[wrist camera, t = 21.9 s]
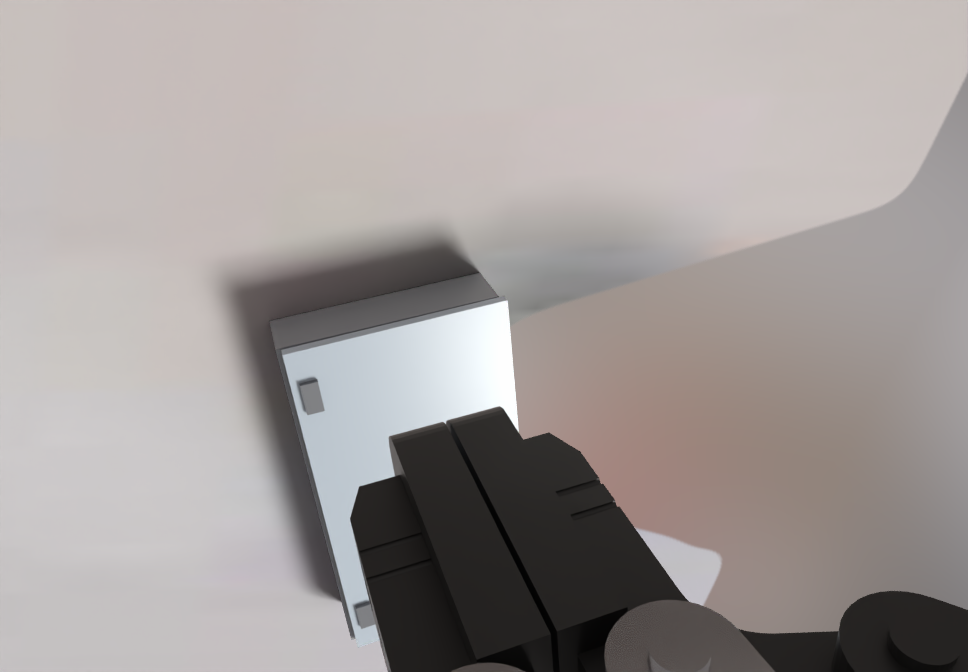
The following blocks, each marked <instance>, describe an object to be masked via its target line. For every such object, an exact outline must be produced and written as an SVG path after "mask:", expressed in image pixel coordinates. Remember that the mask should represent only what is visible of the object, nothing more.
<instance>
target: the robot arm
mask: <svg viewBox="0 0 968 672" xmlns="http://www.w3.org/2000/svg"><path fill="white" fill-rule="evenodd" d="M389 447H390V453H391V458H392V463H393V469H394V474H395V476H394V477H391V478H387V479H384V480H380V481H377V482H373V483H370V484H366V485H363V486H359V489H358V492H357V496H356V499H355V503H354V506H353V510H352V513H351V517H350V522H351V526H352V530H353V534H354V539H355V543H356V547H357V551H358V556H359V560H360V564H361V568H362V572H363V577H364V581H365V585H366V589H367V594H368V598H369V602H370V606H371V610H372V614H373V617H374V621H375V625H376V629H377V633H378V636H379V640H380V644H381V648H382V651H383V655H384V659H385V663H386V666H387V670H388V672H968V610H966V609H963V608H960V607H957V606H955V605H951V604H949V603H946V602H943V601H940V600H937V599H934V598H931V597H927V596H924V595H921V594H915V593H910V592H901V591H900V592H899V591H887V592H879V593H874V594H870V595H867V596H865V597H863V598H860V599H859V600H857V601H856V602H854V603H853V604H851V606H850V607H849V608H848V609H847V610H846V611H845V613H844V615H843V617H842V619H841V622H840V628H839V631H837V632H808V633H780V634H767V633H766V634H765V633H755V632H748V631H744V630H740V629H737V628H736V627H735V626H734V625H733V624H732V623H731V622H730V621H728V620H727V619H726V618H724V617H723V616H722V615H720V614H719V613H717V612H715V611H713V610H711V609H709V608H707V607H704V606H701V605H699V604H695V603H691V602H689V601H688V600H687V599H686V598H685V597H684V596H683V594H682V593H681V592H680V591H679V589H678V588H677V587H676V585H675V584H674V582H673V581H672V580H671V578H670V577H669V575H668V574H667V573H666V571H665V570H664V568H663V567H662V566H661V564H660V563H659V561H658V560H657V559H656V557H655V556H654V554H653V553H652V552H651V550H650V549H649V547H648V546H647V545H646V543H645V542H644V540H643V539H642V538H641V536H640V535H639V533H638V532H637V531H636V529H635V528H634V526H633V525H632V524H631V522H630V521H629V520H628V518H627V517H626V515H625V514H624V512H623V511H622V510H621V508H620V507H617V506H616V503H615V500H614V498H613V497H612V496H611V494H610V493H609V491H608V490H607V489H606V487H605V486H604V484H601V483H600V480H599V477H598V476H597V475H596V473H595V472H594V470H593V469H592V468H591V466H590V465H589V463H588V462H587V461H586V459H585V458H584V456H583V455H582V454H581V452H580V451H578V450H576V449H575V448H573V447H572V446H570V445H568V444H567V443H565V442H563V441H562V440H560V439H559V438H557V437H555V436H554V435H552V434H550V433H546V434H542V435H539V436H535V437H532V438H529V439H525V440H523V439H522V437H521V436H520V434H519V432H518V431H517V429H516V428H515V426H514V424H513V423H512V421H511V420H510V418H509V416H508V415H507V413H506V412H505V410H504V409H503V408H502V407H500V406H498V407H495V408H491V409H487V410H483V411H480V412H476V413H472V414H469V415H465V416H461V417H458V418H454V419H450V420H447V421H446V424H445V423H444V422H440V423H436V424H433V425H429V426H425V427H421V428H418V429H414V430H410V431H407V432H403V433H399V434H396V435H392V436H389Z"/></svg>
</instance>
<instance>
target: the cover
mask: <svg viewBox="0 0 968 672" xmlns="http://www.w3.org/2000/svg"><path fill="white" fill-rule="evenodd" d="M281 352H282V356H283V360H284V364H285V367H286V371H287V375H288V379H289V383H290V387H291V391H292V395H293V398H294V402H295V406H296V410H297V414H298V418H299V422H300V425H301V429H302V433H303V437H304V441H305V445H306V449H307V452H308V456H309V460H310V464H311V468H312V472H313V476H314V480H315V483H316V487H317V491H318V495H319V499H320V503H321V507H322V510H323V514H324V518H325V522H326V526H327V530H328V534H329V537H330V541H331V545H332V549H333V553H334V557H335V561H336V564H337V568H338V572H339V576H340V580H341V584H342V588H343V592H344V595H345V599H346V603H347V607H348V611H349V615H350V619H351V622H352V626H353V630H354V634H355V638H356V642H357V646H358V647H361V646H364V645H367V644H370V643H373V642H376V641H379V636H378V633H377V629H376V625H375V621H374V617H373V614H372V610H371V606H370V602H369V598H368V594H367V589H366V585H365V581H364V577H363V572H362V568H361V564H360V560H359V556H358V551H357V547H356V543H355V539H354V534H353V530H352V526H351V522H350V517H351V513H352V510H353V506H354V503H355V499H356V496H357V492H358V489H359V486H363V485H366V484H370V483H373V482H377V481H380V480H384V479H387V478H391V477H394V476H395V474H394V469H393V463H392V458H391V453H390V447H389V436H392V435H396V434H399V433H403V432H407V431H410V430H414V429H418V428H421V427H425V426H429V425H433V424H436V423H440V422H444V423H445V424H446V421H447V420H450V419H454V418H458V417H461V416H465V415H469V414H472V413H476V412H480V411H483V410H487V409H491V408H495V407H498V406H500V407H502V408H503V409H504V410H505V412H506V413H507V415H508V416H509V418H510V420H511V421H512V423H513V424H514V426H515V428H516V429H517V431H518V432H519V430H518V417H517V407H516V394H515V382H514V371H513V359H512V349H511V335H510V324H509V312H508V300H507V299H506V298H505V297H504V296H501V297H497V298H493V299H489V300H485V301H481V302H477V303H473V304H469V305H464V306H460V307H456V308H452V309H448V310H444V311H440V312H436V313H431V314H427V315H423V316H419V317H415V318H411V319H407V320H403V321H399V322H394V323H390V324H386V325H382V326H378V327H374V328H370V329H366V330H361V331H357V332H353V333H349V334H345V335H341V336H337V337H333V338H329V339H324V340H320V341H316V342H312V343H308V344H304V345H300V346H296V347H291V348H287V349H283V350H281Z"/></svg>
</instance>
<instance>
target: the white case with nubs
mask: <svg viewBox="0 0 968 672" xmlns="http://www.w3.org/2000/svg"><path fill="white" fill-rule="evenodd" d="M497 297H499V296H498V295H497V294H496V292H495V291H494V290H493V289H492V287H491V286H490V285H489V284H488V282H487V281H486V280H485V279H484V277H483V276H482V275H481V273H476V274H472V275H468V276H463V277H459V278H455V279H450V280H446V281H442V282H437V283H433V284H429V285H424V286H420V287H415V288H411V289H407V290H402V291H398V292H394V293H389V294H385V295H381V296H376V297H372V298H368V299H363V300H359V301H354V302H350V303H346V304H341V305H337V306H333V307H328V308H324V309H320V310H315V311H311V312H307V313H302V314H298V315H293V316H289V317H285V318H280V319H276V320H272V321H269V322H270V327H271V332H272V337H273V341H274V346H275V351H276V355H277V358H278V362H279V366H280V370H281V374H282V377H283V381H284V385H285V389H286V393H287V396H288V400H289V404H290V408H291V412H292V415H293V419H294V423H295V427H296V431H297V434H298V438H299V442H300V446H301V450H302V453H303V457H304V461H305V465H306V469H307V472H308V476H309V480H310V484H311V488H312V491H313V495H314V499H315V503H316V507H317V510H318V514H319V518H320V522H321V526H322V529H323V533H324V537H325V541H326V545H327V548H328V552H329V556H330V560H331V564H332V567H333V571H334V575H335V579H336V583H337V586H338V590H339V594H340V598H341V602H342V605H343V609H344V613H345V617H346V621H347V624H348V628H349V632H350V636H351V640H353V639H356V638H355V634H354V630H353V626H352V622H351V619H350V615H349V611H348V607H347V603H346V599H345V595H344V592H343V588H342V584H341V580H340V576H339V572H338V568H337V564H336V561H335V557H334V553H333V549H332V545H331V541H330V537H329V534H328V530H327V526H326V522H325V518H324V514H323V510H322V507H321V503H320V499H319V495H318V491H317V487H316V483H315V480H314V476H313V472H312V468H311V464H310V460H309V456H308V452H307V449H306V445H305V441H304V437H303V433H302V429H301V425H300V422H299V418H298V414H297V410H296V406H295V402H294V398H293V395H292V391H291V387H290V383H289V379H288V375H287V371H286V367H285V364H284V360H283V356H282V352H281V350H283V349H287V348H291V347H296V346H300V345H304V344H308V343H312V342H316V341H320V340H324V339H329V338H333V337H337V336H341V335H345V334H349V333H353V332H357V331H361V330H366V329H370V328H374V327H378V326H382V325H386V324H390V323H394V322H399V321H403V320H407V319H411V318H415V317H419V316H423V315H427V314H431V313H436V312H440V311H444V310H448V309H452V308H456V307H460V306H464V305H469V304H473V303H477V302H481V301H485V300H489V299H493V298H497Z"/></svg>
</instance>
